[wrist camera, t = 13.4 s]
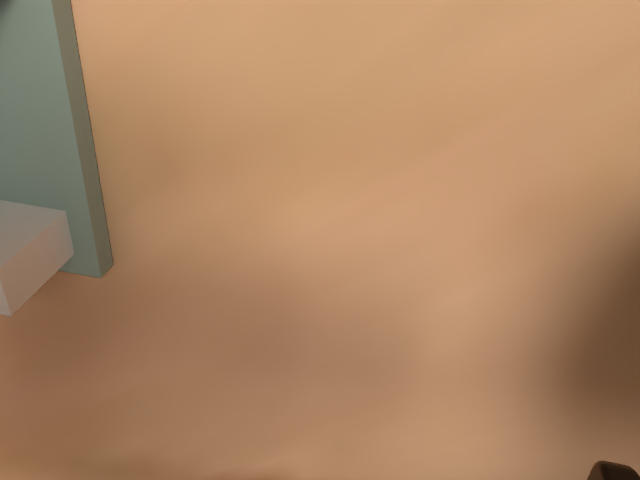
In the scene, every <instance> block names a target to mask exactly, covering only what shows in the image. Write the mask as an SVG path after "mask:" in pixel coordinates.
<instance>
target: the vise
mask: <svg viewBox="0 0 640 480" xmlns="http://www.w3.org/2000/svg"><path fill="white" fill-rule="evenodd" d="M112 266H113V260H112V254H111V247H110V241H109V235H108V229H107V223H106V217H105V211H104V205H103V198H102V192H101V186H100V180H99V174H98V168H97V162H96V155H95V149H94V143H93V137H92V131H91V125H90V119H89V113H88V106H87V100H86V94H85V88H84V82H83V76H82V70H81V64H80V57H79V51H78V45H77V39H76V33H75V27H74V21H73V15H72V8H71V2H70V0H0V315H5V316H10V317H11V316H12V315H13V314H14V313H15V312H17V311H18V310H19V309H20V308H21V307H22V306H23V305H24V304H25V303H26V302H27V301H28V300H29V299H30V298H31V297H32V296H33V295H34V294H35V293H36V292H37V291H38V290H39V289H40V288H41V287H42V286H43V285H44V284H45V283H46V282H47V281H48V280H49V279H50V278H51V277H52V276H53V275H54V274H55V273H56V272H57V271H63V272H69V273H74V274H80V275H85V276H91V277H96V278H102V277H103V276H104V275H105V274H106V272H107V271H108V270H109V269H110V268H111V267H112Z"/></svg>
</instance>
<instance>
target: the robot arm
mask: <svg viewBox="0 0 640 480" xmlns="http://www.w3.org/2000/svg"><path fill="white" fill-rule="evenodd" d="M587 480H640V476H639V475H638V474H637V473H636V471H635V470H633V469H632V468H631V467H629V466H626V465H622V464H617V463H612V462H607V461H598V462H596V463H595V464H594V466H593V468H592V470H591V472H590V474H589V476H588V478H587Z"/></svg>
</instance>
